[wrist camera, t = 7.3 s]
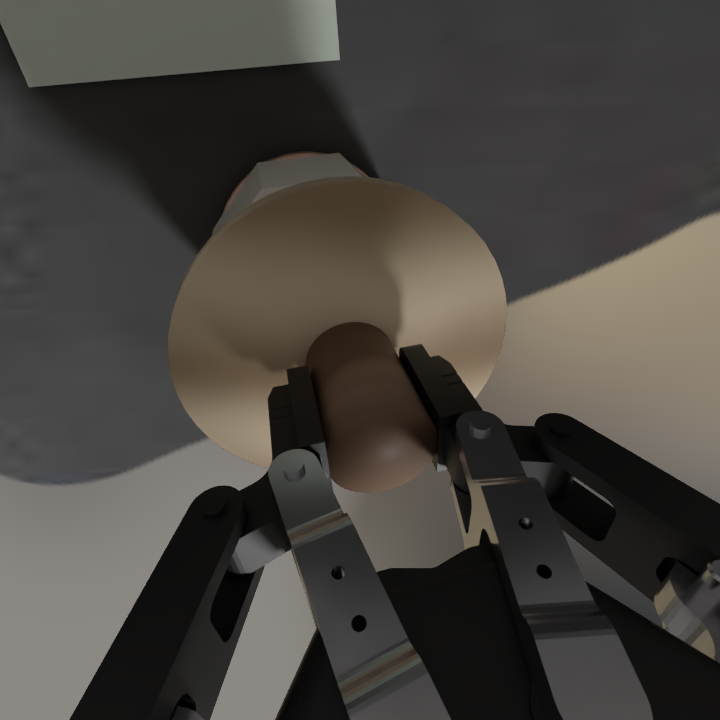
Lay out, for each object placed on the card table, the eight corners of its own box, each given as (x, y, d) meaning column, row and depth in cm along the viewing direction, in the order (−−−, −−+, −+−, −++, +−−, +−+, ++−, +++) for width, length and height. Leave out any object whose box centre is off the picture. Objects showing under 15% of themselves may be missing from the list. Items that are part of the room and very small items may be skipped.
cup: (196, 163, 21) (182, 196, 16) (390, 140, 22) (431, 164, 17) (242, 332, 27) (242, 393, 22) (394, 306, 28) (425, 358, 23)
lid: (111, 204, 12) (34, 294, 7) (515, 153, 13) (648, 202, 9) (222, 482, 19) (217, 611, 14) (477, 426, 21) (542, 526, 16)
